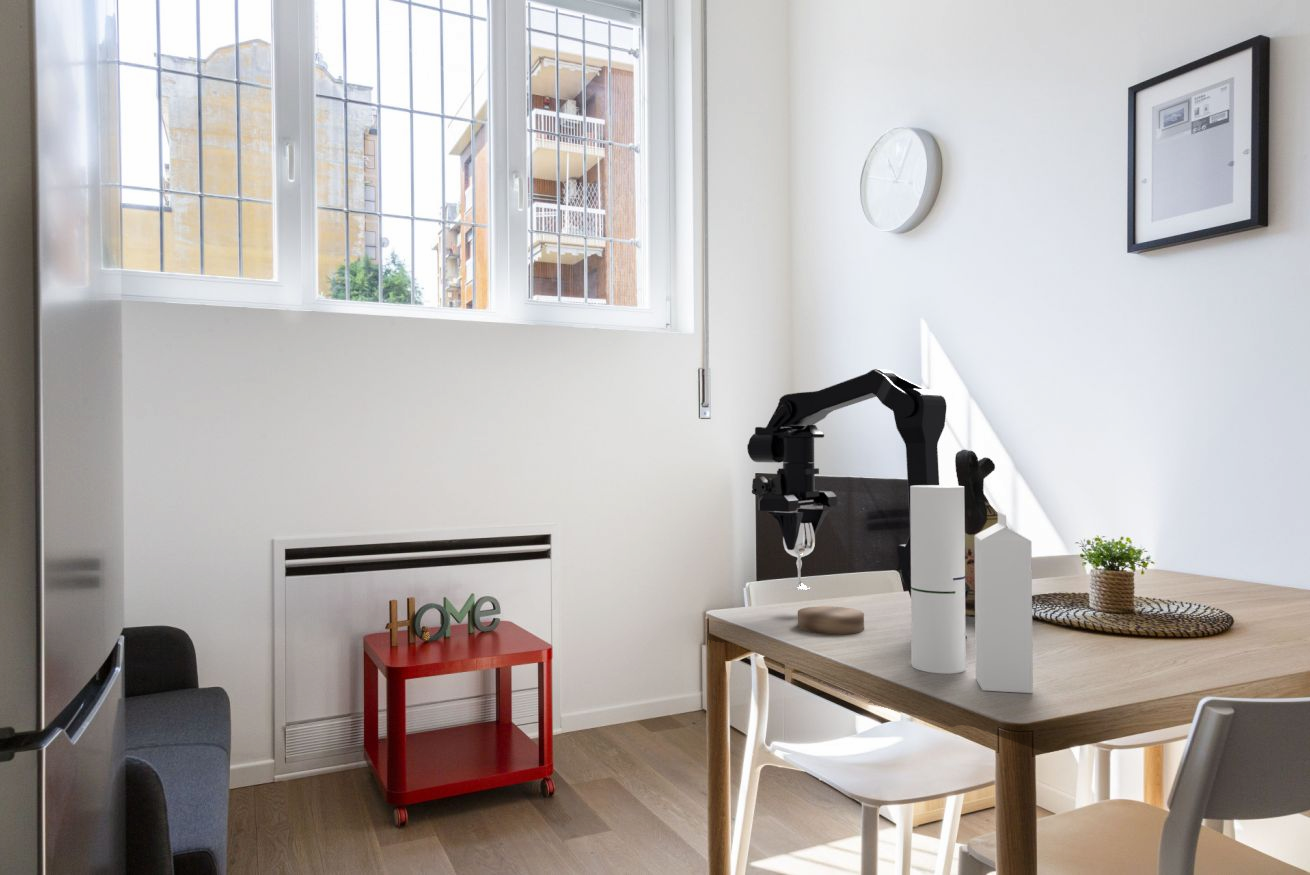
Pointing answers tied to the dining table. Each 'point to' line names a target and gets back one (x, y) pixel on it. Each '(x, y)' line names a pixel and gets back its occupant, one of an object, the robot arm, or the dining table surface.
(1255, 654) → the dining table surface
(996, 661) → the milk
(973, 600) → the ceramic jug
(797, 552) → the wineglass
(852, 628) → the walnut riser
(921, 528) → the cylindrical container
